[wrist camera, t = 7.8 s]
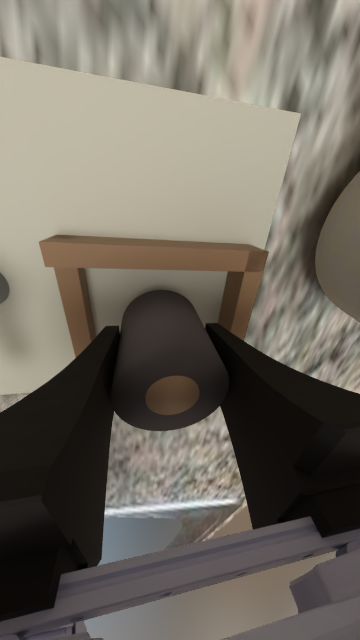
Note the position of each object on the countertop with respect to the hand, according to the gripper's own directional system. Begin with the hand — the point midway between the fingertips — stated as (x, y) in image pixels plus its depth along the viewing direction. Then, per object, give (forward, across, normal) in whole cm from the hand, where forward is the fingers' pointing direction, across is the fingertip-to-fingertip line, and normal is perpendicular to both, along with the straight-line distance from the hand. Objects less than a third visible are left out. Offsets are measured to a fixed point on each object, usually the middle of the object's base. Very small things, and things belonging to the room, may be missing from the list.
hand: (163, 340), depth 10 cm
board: (+4, +5, -2) cm, 7 cm away
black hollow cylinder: (+2, 0, 0) cm, 2 cm away
